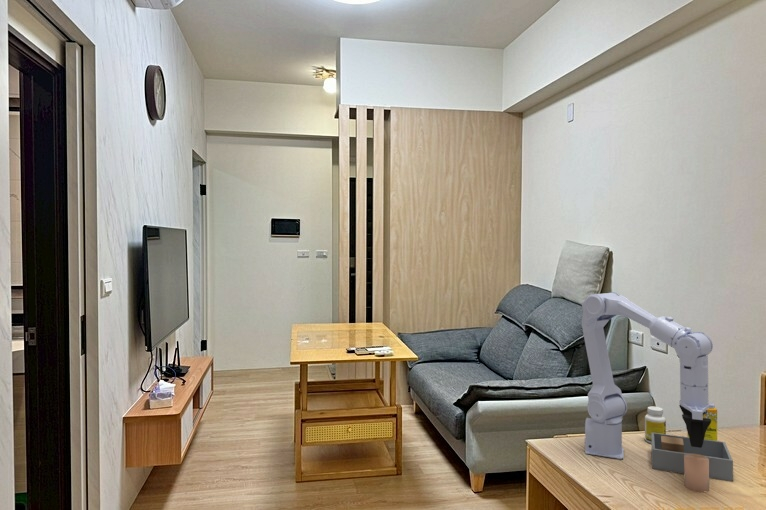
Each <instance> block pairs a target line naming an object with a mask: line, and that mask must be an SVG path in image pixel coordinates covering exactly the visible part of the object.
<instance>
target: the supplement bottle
mask: <svg viewBox="0 0 766 510" xmlns="http://www.w3.org/2000/svg"><path fill="white" fill-rule="evenodd" d="M666 420H667V419H666V417H665V416H664V409H663V408H662V407H660V406H653V405H652V406H651V405H650V406H648V407H647V413H646V415H644V440H645V441H646V443H649V444H651V445H652V439H651V432H652V433H660V434H667V421H666Z"/></svg>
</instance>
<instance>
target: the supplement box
mask: <svg viewBox="0 0 766 510" xmlns="http://www.w3.org/2000/svg"><path fill="white" fill-rule="evenodd" d="M703 418H708V419H711V423H710V425H709V426H708V428H707V430H706V433H705V437H704V439H706V440H714V441H718V409H717V408H709V409H707V410H706V411H705V413H704V415H703ZM687 437H689V435H688V434H687Z"/></svg>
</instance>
